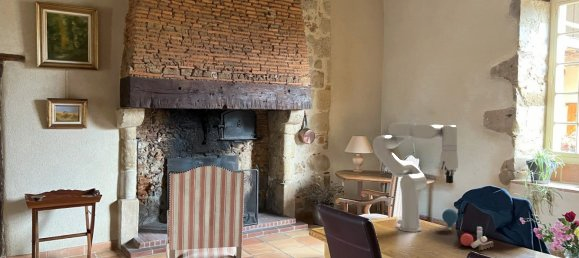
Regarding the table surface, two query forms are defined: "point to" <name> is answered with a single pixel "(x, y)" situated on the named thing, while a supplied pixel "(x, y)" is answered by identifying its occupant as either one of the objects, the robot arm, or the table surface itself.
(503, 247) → the table surface
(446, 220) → the blue ovoid piece
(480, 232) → the slate-blue pin
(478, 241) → the ivory pin
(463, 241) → the ball
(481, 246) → the backstop
